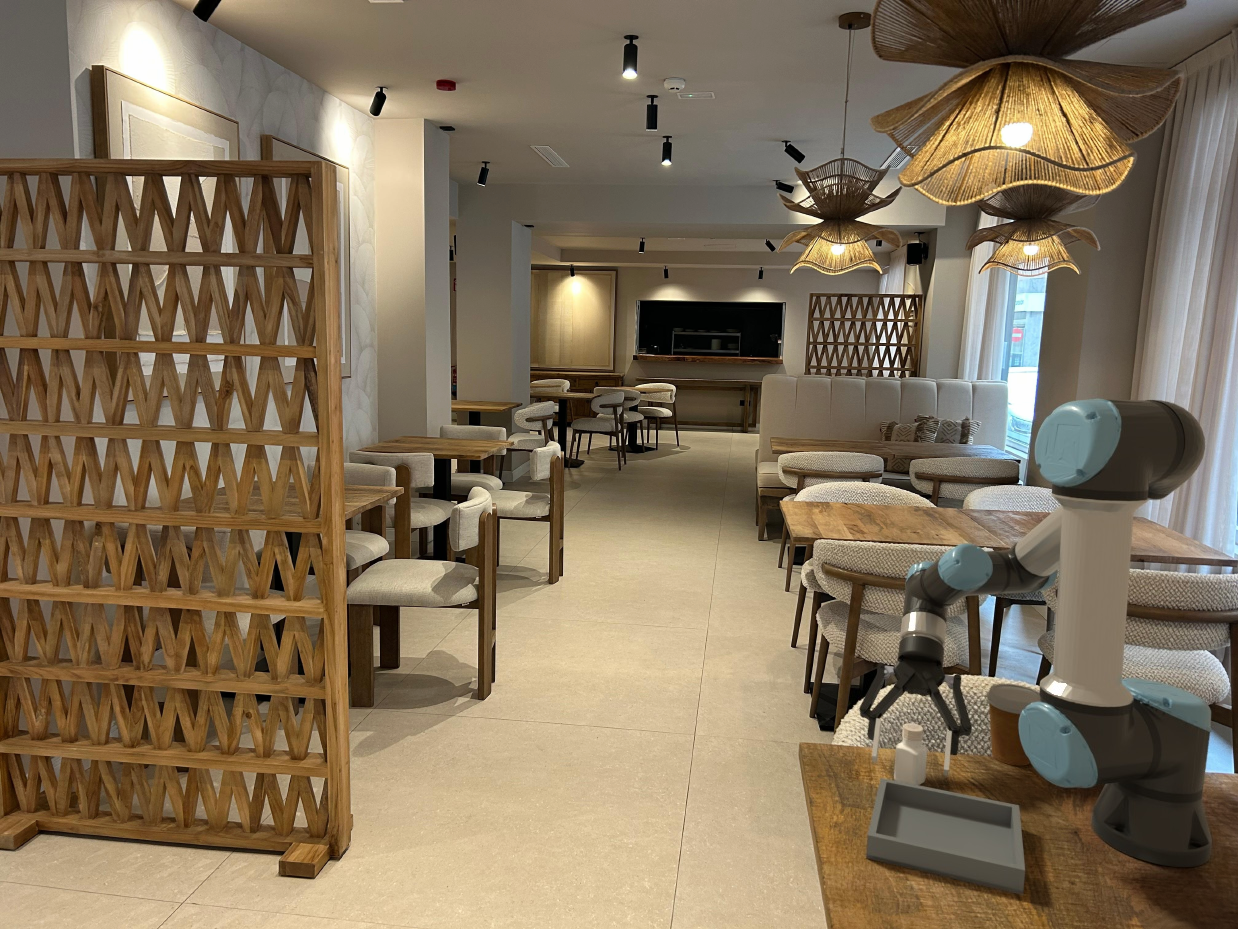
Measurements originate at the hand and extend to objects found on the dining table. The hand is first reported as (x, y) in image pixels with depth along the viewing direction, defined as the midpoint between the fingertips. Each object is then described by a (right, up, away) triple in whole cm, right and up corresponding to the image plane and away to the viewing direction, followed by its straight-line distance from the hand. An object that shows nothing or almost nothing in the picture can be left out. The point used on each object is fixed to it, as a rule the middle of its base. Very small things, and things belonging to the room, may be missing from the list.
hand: (909, 766), depth 140 cm
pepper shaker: (+1, -4, +3) cm, 5 cm away
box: (0, -6, -15) cm, 16 cm away
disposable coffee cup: (+22, -3, +13) cm, 26 cm away
